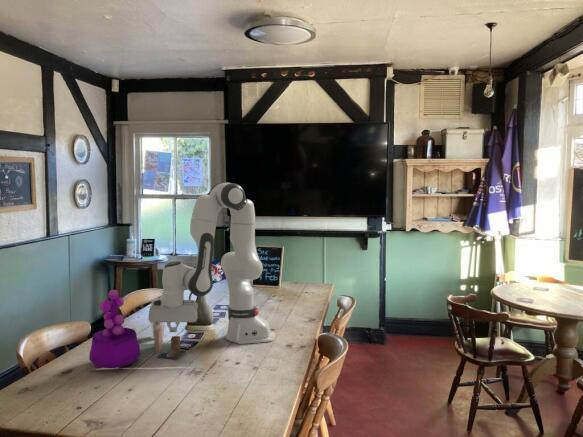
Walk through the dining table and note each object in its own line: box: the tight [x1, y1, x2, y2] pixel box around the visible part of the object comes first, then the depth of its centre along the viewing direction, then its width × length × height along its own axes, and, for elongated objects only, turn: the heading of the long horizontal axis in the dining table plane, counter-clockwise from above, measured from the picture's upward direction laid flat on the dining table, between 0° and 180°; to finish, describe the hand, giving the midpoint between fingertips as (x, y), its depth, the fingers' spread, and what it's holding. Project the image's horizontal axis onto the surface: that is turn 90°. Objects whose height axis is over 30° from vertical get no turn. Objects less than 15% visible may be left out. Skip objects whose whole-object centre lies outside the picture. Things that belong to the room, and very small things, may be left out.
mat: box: [139, 342, 171, 355], centre depth 205 cm, size 18×12×1 cm, turn 93°
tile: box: [153, 325, 163, 351], centre depth 205 cm, size 2×7×9 cm, turn 3°
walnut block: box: [170, 335, 181, 358], centre depth 198 cm, size 3×3×8 cm
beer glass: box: [149, 305, 166, 340], centre depth 218 cm, size 7×7×15 cm
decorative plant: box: [88, 289, 141, 369], centre depth 188 cm, size 19×18×30 cm
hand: (173, 331), depth 205 cm, fingers closed
